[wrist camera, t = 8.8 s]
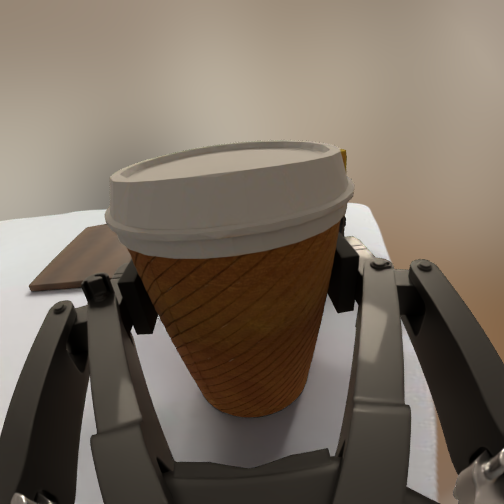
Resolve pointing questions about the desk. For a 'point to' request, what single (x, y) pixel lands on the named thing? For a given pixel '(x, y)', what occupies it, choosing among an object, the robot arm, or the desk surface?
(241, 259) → the disposable coffee cup
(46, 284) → the placemat
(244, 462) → the desk surface
